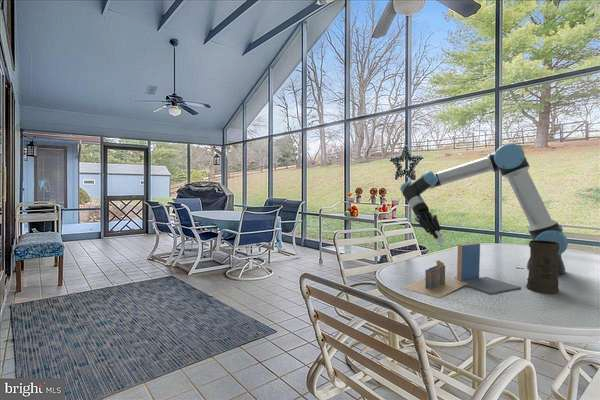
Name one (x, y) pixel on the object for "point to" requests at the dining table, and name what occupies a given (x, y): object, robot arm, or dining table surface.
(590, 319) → the dining table surface
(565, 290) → the dining table surface
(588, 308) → the dining table surface
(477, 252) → the tile
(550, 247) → the beer stein
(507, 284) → the mat
